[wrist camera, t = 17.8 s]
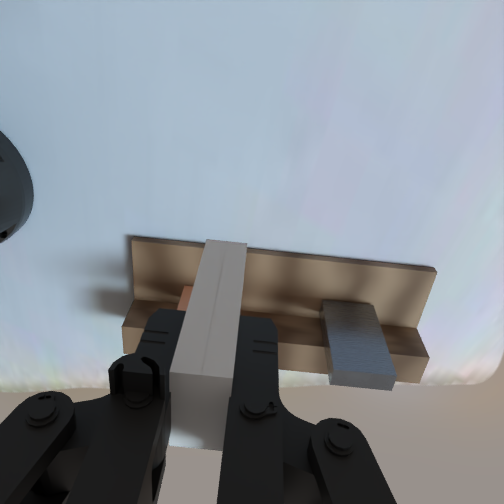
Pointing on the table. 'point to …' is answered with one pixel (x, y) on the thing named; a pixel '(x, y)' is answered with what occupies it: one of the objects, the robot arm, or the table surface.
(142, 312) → the brown piece
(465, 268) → the table surface
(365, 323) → the grey rectangular slab
